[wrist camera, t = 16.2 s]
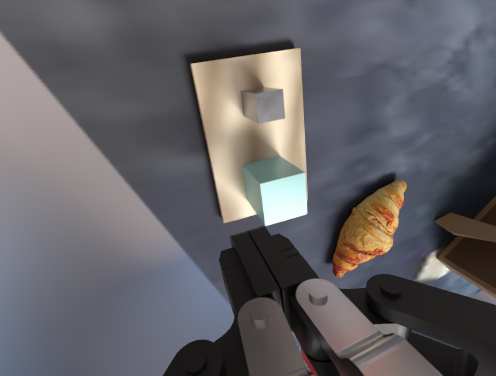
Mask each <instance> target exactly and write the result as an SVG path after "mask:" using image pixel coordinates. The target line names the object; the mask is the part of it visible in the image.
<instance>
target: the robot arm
mask: <svg viewBox="0 0 496 376" xmlns="http://www.w3.org/2000/svg"><path fill="white" fill-rule="evenodd" d="M230 241H231V246H232V248H230V249H226V250H223V251H221V255H220V258H219V262H220V267H221V271H222V275H223V280H224V284H225V288H226V292H227V295H228V298H229V301H230V304H231V308H232V311H233V314H234V317H235V319H234V322H233V324H232V326H231V328H230V329H229V330H228V331H227V332H226V333H225V334H224V335H223V336H222V337H220V338H219V339H218V340H216V341H215V342H214V343H213V342H211V341H209V340H196V341H193V342H191V343H188V344H187V345H186V346H184V347H183V348H182V349H180V351H179V352H178V353H177V354H176V356H175V357H174V359H173V360H172V362H171V363H170V365H169V367H168V368H167V370H166V372H165V373H164V375H163V376H496V305H494V304H490V303H487V302H483V301H480V300H477V299H473V298H470V297H466V296H463V295H460V294H456V293H453V292H449V291H446V290H442V289H439V288H435V287H432V286H429V285H425V284H422V283H418V282H415V281H411V280H408V279H404V278H401V277H398V276H394V275H389V274H379V275H375V276H373V277H371V278H370V279H369V280H368V282H367V285H366V288H359V289H339V288H337V287H336V286H335V285H334V284H333V283H331V282H329V281H327V280H324V279H320V278H319V277H318V276H317V274H316V273H315V272H314V271H313V269H312V268H311V267H310V266H309V264H308V263H307V262H306V261H305V259H304V258H303V257H302V255H301V254H299V252H298V250H297V249H296V248H295V247H294V245H293V244H292V243H291V242H290V240H289V239H288V238H286V237H284V236H282V235H280V234H276V235H273V236H271V235H270V234H269V232H268V231H267V229H266V228H265V227H264V226H262V227H258V228H255V229H251V230H248V231H245V232H241V233H238V234H234V235H231V236H230ZM412 330H414V331H417V332H420V333H422V334H425V335H428V336H430V337H433V338H435V339H438V340H441V341H443V342H446V343H449V344H451V345H454V346H456V347H459V348H462V349H456V348H452V347H450V346H447V345H444V344H442V343H439V342H436V341H434V340H431V339H428V338H426V337H423V336H421V335H418V334H415V333H413V332H412ZM294 336H296V338H297V340H298V341H299V343H300V350H301V353H300V351H299V348H298V346H297V343H296V341H295V338H294ZM305 363H306V365H307V366H308V368H309V370H310V372H311V373H310V372H309V371H308V369H307V367H306V365H305Z"/></svg>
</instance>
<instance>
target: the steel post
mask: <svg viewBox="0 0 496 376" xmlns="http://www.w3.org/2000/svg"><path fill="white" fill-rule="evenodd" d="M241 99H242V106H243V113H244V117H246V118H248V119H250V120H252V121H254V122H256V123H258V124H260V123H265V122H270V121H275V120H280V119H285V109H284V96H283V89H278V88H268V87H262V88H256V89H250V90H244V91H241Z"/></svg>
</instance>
